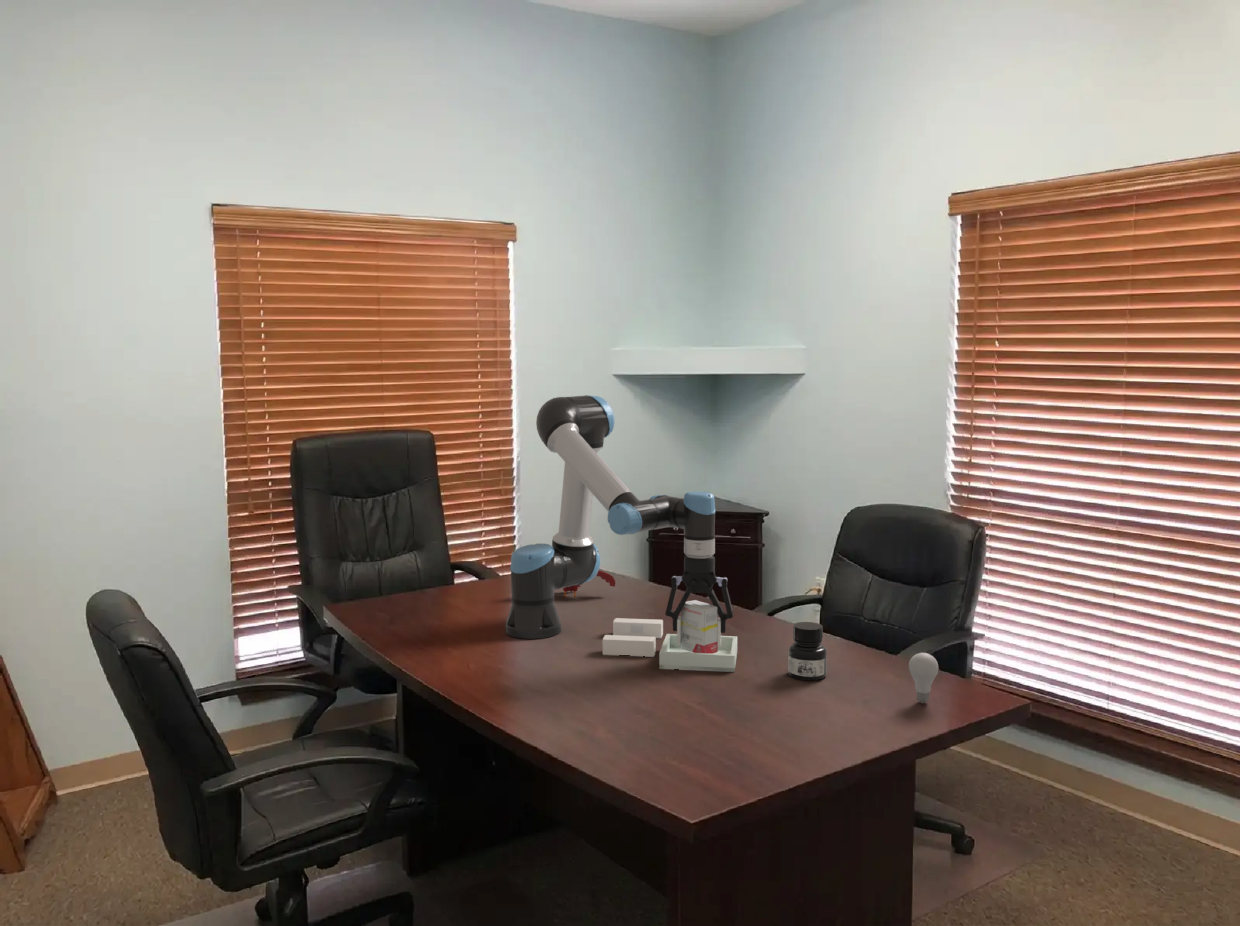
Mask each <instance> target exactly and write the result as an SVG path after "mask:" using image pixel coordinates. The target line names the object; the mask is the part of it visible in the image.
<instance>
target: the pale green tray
mask: <svg viewBox="0 0 1240 926" xmlns="http://www.w3.org/2000/svg"><path fill="white" fill-rule="evenodd" d="M658 653H659V654H658V655H659V657H658V659H659V668H658V669H660V670H674V669H679V670H678V671H680V670H681V671H700V672H724V673H725V672H727V673H735V672H736V664H737V658H738V657H737V656H738V636H737V635H736V636H734V635H733V636H732V635H721V647H718V652H716V653H713V654H710V653H694V652H691V651H687V650H684V649H681V645H677V633H666V635H665V638H664V640H663V642H662V645H661V647H660V650H659V652H658Z"/></svg>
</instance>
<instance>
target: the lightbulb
mask: <svg viewBox="0 0 1240 926" xmlns="http://www.w3.org/2000/svg"><path fill="white" fill-rule="evenodd" d="M938 663H939V662H938V661H937V659H936V658H935V657H934V655H932V654H930V653H927V652H918V653H915V655H913V656H912V657H911V658H910V660H909V662H908V671H909V674H910V676H911V677H912V679H913V682H914V689H915V691H916V700H917V701H918V702H919V703H920V702H922V703H921V704H925V703H927V702H929V701H930V692H931V688H932V684H933V682H934V680H935V678H936V677H937V675H938V673H939V670H940V669H939V664H938Z"/></svg>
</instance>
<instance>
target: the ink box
mask: <svg viewBox="0 0 1240 926" xmlns="http://www.w3.org/2000/svg"><path fill="white" fill-rule="evenodd" d="M680 617H681V649H684V650H687V651H691V652H694V653H710V654H713V653H716V652H718V647H717V637H718V618H719V615H718V613H717V607H716V606H714V605H713V604H710V603H707V602H703V601H699V600H697V599H694V600H687V601H686V602H685V604H684V606H683V608H682V610H681V612H680Z"/></svg>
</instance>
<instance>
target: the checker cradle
mask: <svg viewBox="0 0 1240 926" xmlns="http://www.w3.org/2000/svg"><path fill="white" fill-rule="evenodd" d="M663 635H664V620H663V619H656V618H655V619H652V618H651V619H650V618H649V619H648V618H623V617H621V618H620V617H616V618H614V619H613V622H612V634H605V635H604V636H603V638H602V656H619V655H630V656H629V657H643V656H645V658H647V657H649V658H654V657H655V655H656V653H655V652H656V651H657V647H656V646H657V643H656V642H657V641H656V640H657V639H662V637H663Z"/></svg>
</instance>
